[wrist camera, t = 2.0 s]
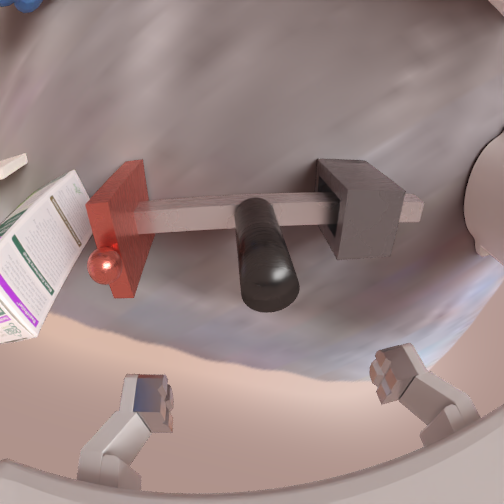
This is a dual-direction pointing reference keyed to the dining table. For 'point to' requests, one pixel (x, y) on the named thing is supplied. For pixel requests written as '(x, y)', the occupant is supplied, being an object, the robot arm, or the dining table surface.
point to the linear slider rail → (206, 218)
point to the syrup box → (40, 254)
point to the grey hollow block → (360, 208)
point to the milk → (498, 5)
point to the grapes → (22, 4)
